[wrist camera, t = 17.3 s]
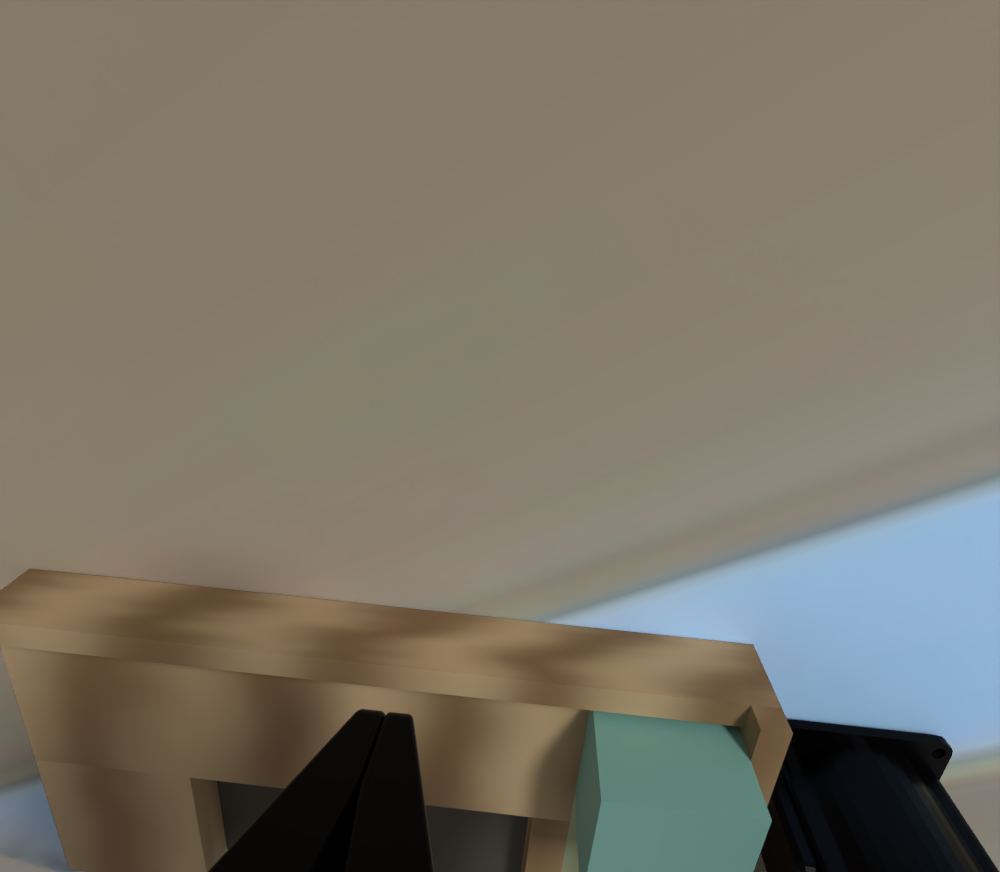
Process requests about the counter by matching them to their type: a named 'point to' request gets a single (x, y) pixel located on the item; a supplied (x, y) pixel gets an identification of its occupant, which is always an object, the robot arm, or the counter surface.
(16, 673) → the tray
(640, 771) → the block
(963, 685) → the counter surface
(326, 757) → the robot arm
